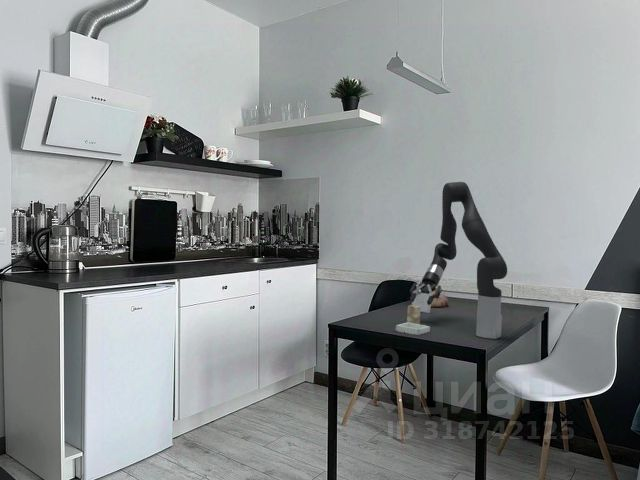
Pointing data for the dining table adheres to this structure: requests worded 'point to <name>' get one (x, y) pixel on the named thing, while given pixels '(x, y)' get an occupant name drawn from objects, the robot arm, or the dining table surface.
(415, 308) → the birch block
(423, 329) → the tray
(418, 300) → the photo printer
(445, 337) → the dining table surface
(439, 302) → the bread
